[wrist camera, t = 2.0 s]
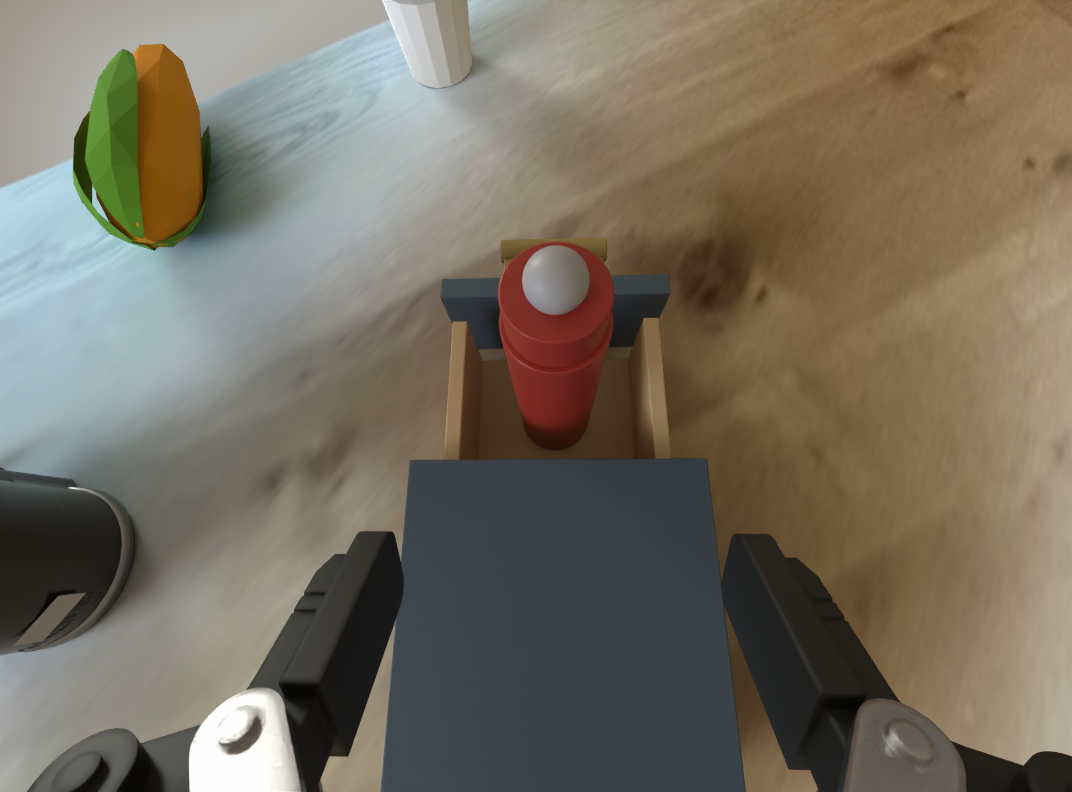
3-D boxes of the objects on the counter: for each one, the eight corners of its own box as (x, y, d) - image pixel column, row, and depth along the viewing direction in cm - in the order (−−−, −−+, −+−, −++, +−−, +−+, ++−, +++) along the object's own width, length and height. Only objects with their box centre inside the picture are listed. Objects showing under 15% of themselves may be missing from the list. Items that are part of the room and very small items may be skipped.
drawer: (467, 280, 33) (446, 216, 26) (640, 277, 32) (662, 210, 26) (452, 554, 27) (420, 557, 20) (663, 555, 26) (698, 558, 20)
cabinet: (450, 483, 29) (409, 459, 21) (663, 482, 29) (707, 457, 20) (432, 777, 24) (370, 895, 16) (689, 783, 24) (760, 908, 16)
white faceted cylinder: (480, 36, 42) (466, -59, 35) (477, 91, 40) (462, 0, 33) (407, 40, 42) (379, -55, 36) (400, 94, 40) (369, 5, 33)
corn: (22, 209, 28) (63, -5, 34) (125, 280, 35) (144, 93, 41) (150, 192, 28) (168, -14, 35) (225, 265, 36) (229, 83, 42)
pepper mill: (510, 419, 28) (454, 262, 13) (554, 376, 29) (554, 178, 13) (556, 464, 27) (557, 355, 12) (601, 418, 28) (659, 258, 12)
